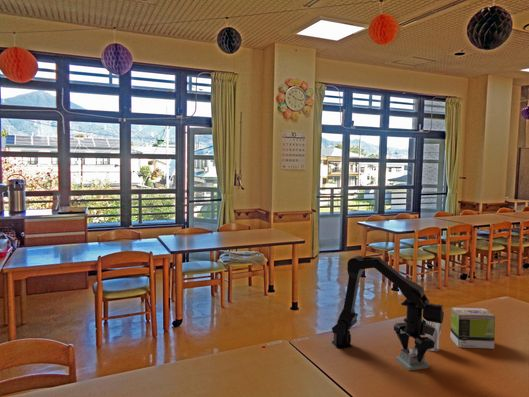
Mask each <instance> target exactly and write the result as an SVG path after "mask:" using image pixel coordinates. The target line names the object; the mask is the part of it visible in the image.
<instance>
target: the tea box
mask: <svg viewBox="0 0 529 397" xmlns="http://www.w3.org/2000/svg"><path fill="white" fill-rule="evenodd" d="M495 333H496V315H495V314H493V312H490V311H489V310H488V309H487V308H485V307H456V306H455V307H454V306H453V307H451V308H450V340H452V342H453V343H454V345H456V347H458V348H468V349H470V348H471V349H473V348H474V349H490V350H491V349H493V350H494V349H495V338H496V337H495V335H496V334H495Z"/></svg>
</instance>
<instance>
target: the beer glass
mask: <svg viewBox="0 0 529 397" xmlns="http://www.w3.org/2000/svg"><path fill="white" fill-rule="evenodd" d="M423 320H425V319H424V318H423ZM425 321H426V320H425ZM426 323H427V324H429V325H430V326H432V327H434V328H435V331H434V334H433V336H431V335H429V334H425V335H424V337H428V338H430V339H431V340H433V341H434V342H435V346H434V348H431V349H428V350H427V351H430V352H438V351H440V344H439V340H440V336H441V332H442V324H443V323H442V324H440V323H435V322H430V321H426Z"/></svg>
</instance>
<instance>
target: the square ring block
mask: <svg viewBox="0 0 529 397" xmlns="http://www.w3.org/2000/svg"><path fill="white" fill-rule="evenodd" d="M410 348H411V347H408V349H403V348H401V349H400V355H399V356H400V358H401V359H402V360H404V361H405V362H406V363H407V364H409V365H418V364H424V361H425V362H426V359H425V358H426V357H425V356H426V354H424V356H423V359H422V361H421V362H418V360H417V356H416V354H415V355H410V354H409V351H410Z"/></svg>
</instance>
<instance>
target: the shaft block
mask: <svg viewBox="0 0 529 397" xmlns="http://www.w3.org/2000/svg"><path fill="white" fill-rule="evenodd" d="M409 348H410V351H409V354H410V355H415V354H416V351H415V347H409ZM395 360H396V362H398V363H399V364H400V365H402V367H404V368H405V369H406V370H407V371H416V370H422V369H430V363H427V361H426V360H425V361H424V364H418V365H409V364H407V363H406V362H405V361H404V360H402V359H401V358H400V355H398V356H395Z"/></svg>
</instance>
